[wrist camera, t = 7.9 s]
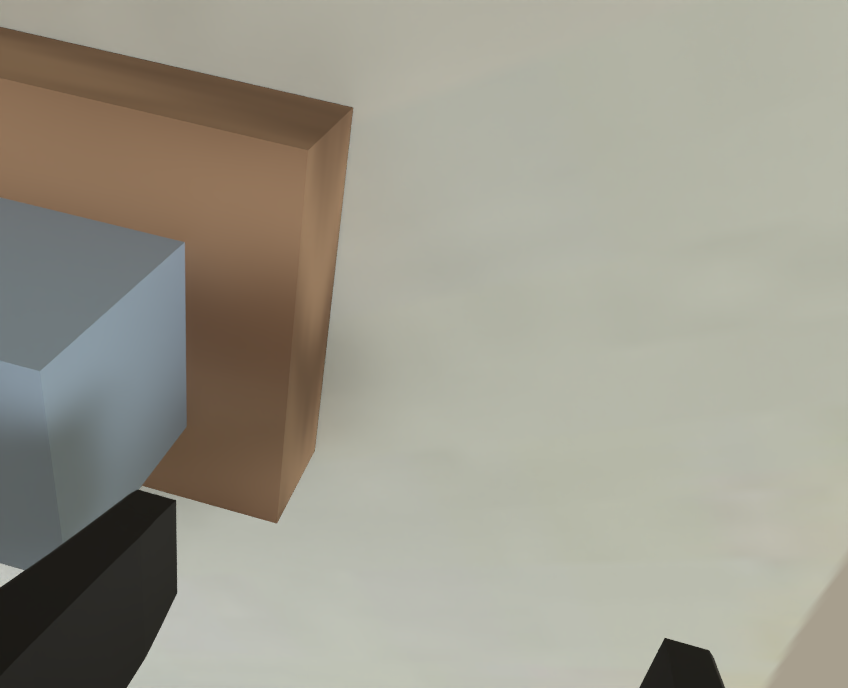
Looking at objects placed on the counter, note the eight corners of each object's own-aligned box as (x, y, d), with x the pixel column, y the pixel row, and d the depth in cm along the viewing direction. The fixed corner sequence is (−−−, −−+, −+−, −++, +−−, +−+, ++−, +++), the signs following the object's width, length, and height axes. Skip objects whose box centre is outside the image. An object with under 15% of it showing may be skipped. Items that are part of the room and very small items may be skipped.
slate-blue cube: (187, 426, 20) (67, 582, 15) (-3, 376, 20) (-167, 514, 16) (184, 241, 17) (39, 371, 13) (-34, 188, 17) (-242, 296, 13)
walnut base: (314, 450, 23) (276, 523, 21) (-6, 364, 24) (-79, 423, 22) (352, 107, 18) (308, 150, 15) (-62, 12, 19) (-168, 38, 16)
